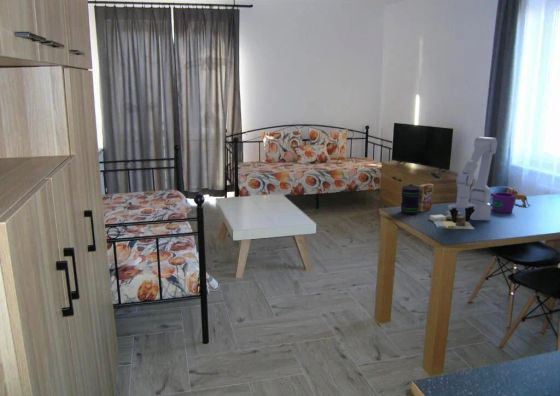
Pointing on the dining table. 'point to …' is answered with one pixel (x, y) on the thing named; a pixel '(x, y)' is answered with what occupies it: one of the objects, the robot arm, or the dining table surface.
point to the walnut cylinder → (460, 221)
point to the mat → (452, 225)
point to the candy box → (425, 197)
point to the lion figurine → (518, 196)
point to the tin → (448, 215)
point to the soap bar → (437, 218)
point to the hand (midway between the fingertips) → (460, 221)
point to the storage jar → (410, 200)
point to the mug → (503, 202)
